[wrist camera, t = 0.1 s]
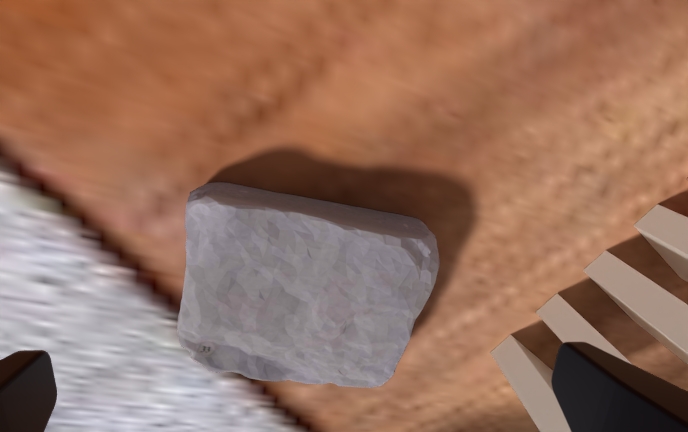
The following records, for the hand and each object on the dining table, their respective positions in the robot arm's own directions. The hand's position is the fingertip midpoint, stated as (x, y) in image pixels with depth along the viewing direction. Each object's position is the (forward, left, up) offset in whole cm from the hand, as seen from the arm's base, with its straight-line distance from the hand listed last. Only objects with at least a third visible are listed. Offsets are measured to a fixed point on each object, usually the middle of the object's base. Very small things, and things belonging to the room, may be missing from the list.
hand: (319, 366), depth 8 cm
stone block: (-6, 0, -15) cm, 16 cm away
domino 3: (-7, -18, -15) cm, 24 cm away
